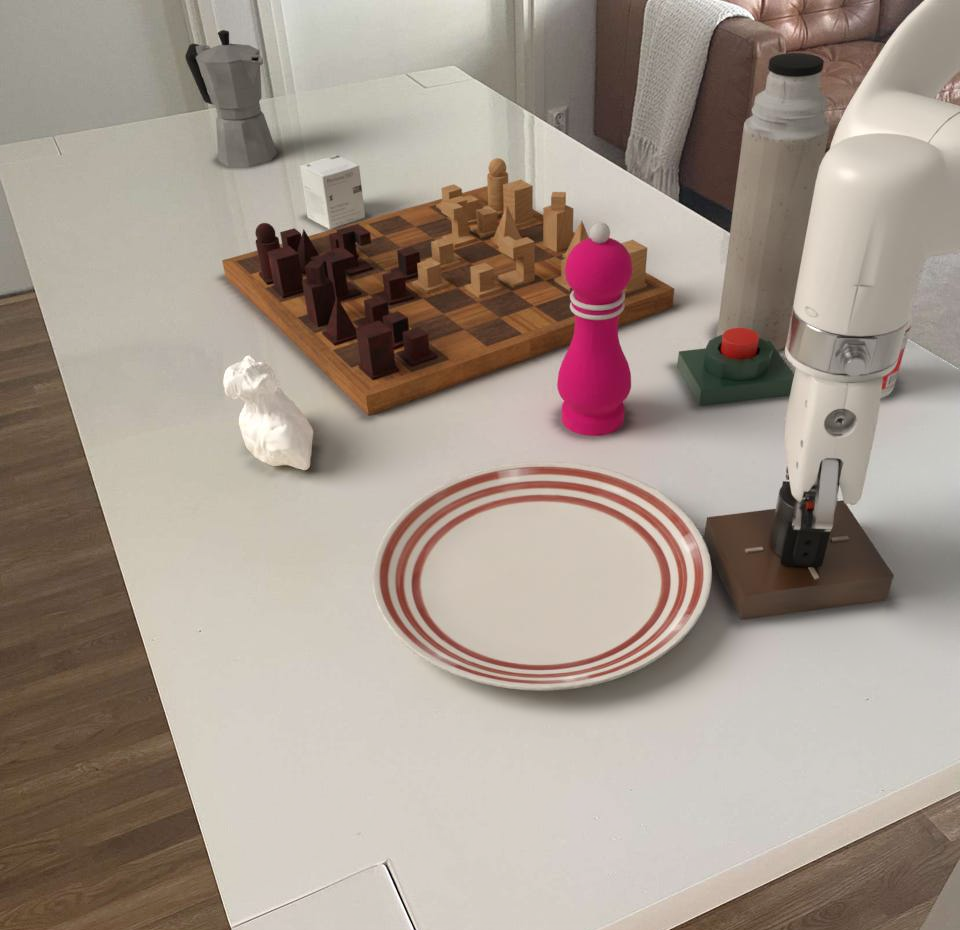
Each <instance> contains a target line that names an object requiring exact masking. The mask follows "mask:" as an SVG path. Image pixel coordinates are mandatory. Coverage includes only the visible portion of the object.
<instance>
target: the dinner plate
mask: <svg viewBox="0 0 960 930" xmlns="http://www.w3.org/2000/svg"><path fill="white" fill-rule="evenodd" d="M712 579H713V570H712V559H711V557H710V555H709V552H708V548H707V546H706V543H705V541H704V536H702V533H701V532H700V530H699V528H698V527H697V526H696V524H695V523H694V521H693V520H692V519H691V518H690V517H689V516H688V514H687V513H686V512H685V511H684V510H683V509H682V508H681V507H680V506H678V504H676V502H674V501H673V500H671V498H669V497H668V496H667V495H665V494H663V493H662V492H660V491H658V490H657V489H655V488H653V487H652V486H650V485H648V484H647V483H644V482H642V481H640V480H639V479H636V478H634V477H631V476H629V475H627V474H624V473H620V472H618V471H614V470H610V469H607V468H604V467H600V466H599V467H598V466H593V465H589V464H583V463H574V462H563V461H526V462H516V463H509V464H508V463H507V464H501V465H497V466H496V465H495V466H491V467H487V468H483V469H480V470H475V471H472V472H470V473H466V474H463V475H460V476H458V477H456V478H453V479H451V480H449V481H448V480H447V481H446V482H444V483H442V484H440V485H438V486H436V487H434V488H432V489H431V490H429V491H428V492H426V493H424V494H423V495H421V496H419V497H418V498H417V499H415V500H414V501H413V502H411V504H409V505H408V506H407V507H405V509H404V510H402V511H401V513H400V514H399V515H398V516H397V517H396V518H395V519H394V520H393V522H392V523H391V524H390V526H389V527H388V528H387V530H386V531H385V533H384V535H383V537H382V539H381V540H380V542H379V545H378V547H377V550H376V553H375V557H374V561H373V568H372V589H373V590H372V591H373V594H374V600H375V603H376V606H377V608H378V610H379V613H380V615H381V616H382V619H383V620H384V621H385V623H386V625H387V626H388V628H389V629H390V630H391V631H392V633H393V634H394V635H395V636H396V637H397V638H398V639H399V640H400V641H401V642H402V644H403V645H404V646H406V647H407V648H408V649H409V650H410V651H412V652H413V653H414V654H415V655H417V656H419V657H420V658H422V659H423V660H425V662H428V663H429V664H431V665H432V666H435V667H436V668H438V669H441V670H443V671H444V672H447V673H449V674H452V675H455V676H457V677H459V678H462V679H465V680H469V681H472V682H476V683H478V684H483V685H488V686H493V687H497V688H504V689H512V690H522V691H539V692H540V691H541V692H543V691H561V690H563V691H564V690H572V689H573V690H574V689H580V688H586V687H587V688H588V687H591V686H596V685H599V684H603V683H608V682H611V681H614V680H617V679H620V678H622V677H625V676H627V675H630V674H632V673H634V672H637V671H639V670H641V669H643V668H645V667H646V666H648V665H650V664H651V663H653V662H655V661H657V660H658V659H660V658H661V657H663V656H664V655H665V654H667V653H668V652H670V651H671V650H672V649H673V648H674V647H676V646H677V645H678V644H679V643H680V642H681V641H682V640H683V639H684V638H686V636H687V635H688V634H689V633H690V631H691V630H692V628H694V626H695V625H696V624H697V623H698V620H699V619H700V617H701V616H702V613H703V612H704V610H705V607H706V605H707V603H708V599H709V597H710V593H711V588H712V581H713V580H712Z"/></svg>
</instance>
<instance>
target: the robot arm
mask: <svg viewBox="0 0 960 930" xmlns="http://www.w3.org/2000/svg"><path fill="white" fill-rule="evenodd" d="M877 55H878V56H877V57H876V59H875V60H874V62H873V63H872V65H871V66H870V68H869V70H868V71H867V73H866V74H865V76H864V78H863V79H862V81H861V83H860V84H859V86H858V88H857V89H856V91H855V93H854V94H853V95H852V98H851V99H850V101H849V103H848V104H847V106H846V108H845V110H844V112H843V114H842V116H841V117H840V120H839V122H838V124H837V126H836V128H835V131H834V133H833V138H832V140H831V143H830V146H829V149H828V150H827V152H825V154H824V158H823V160H822V162H821V164H820V166H819V170H818V174H817V179H816V183H815V189H814V194H813V200H812V205H811V210H810V216H809V221H808V227H807V232H806V238H805V243H804V249H803V254H802V260H801V265H800V271H799V276H798V282H797V287H796V293H795V299H794V304H793V309H792V314H791V319H790V325H789V330H788V336H787V341H786V347H784V354H785V357H786V360H787V361H788V362H789V363H790V364H791V365H792V366H793V367H794V368H795V370H794V373H793V374H794V378H793V383H792V388H791V393H790V396H789V398H788V404H787V410H786V414H785V416H786V417H785V423H784V448H785V458H786V469H785V480H783V481H782V484H781V487H782V486H783V485H784V484H785V483H786V482H788V481H790V488H791V493H792V496H793V497H794V498H795V499H796V502H795V508H794V514H793V520H792V522H788V523H787V528H786V533H785V538H784V542H783V547H782V552H781V556H780V562H781V564H782V565H783V566H797V567H815V568H818V567H820V566H822V564H823V560H824V556H825V552H826V548H827V544H828V540H829V536H830V532H831V530H832V527H833V520H834V512H835V506H836V501H838V500H837V498H838V495H839V489H840V492H841V496H842V500H844V504H846V505H851V506H854V505H856V504H858V503H859V502H860V500H861V499H862V495H863V491H864V486H865V481H866V477H867V472H868V469H869V464H870V458H871V455H872V449H873V445H874V439H875V435H876V431H877V425H878V419H879V414H880V407H881V399H882V398H881V391H882V380H883V376H885V375H887V374H889V373H890V372H891V371H892V370H893V369H894V368H895V366H896V365H897V361H898V358H899V354H900V350H901V346H902V343H903V339H904V335H905V332H906V328H907V324H908V321H909V316H910V312H911V311H912V308H913V305H914V301H915V297H916V294H917V291H918V286H919V283H920V279H921V275H922V272H923V268H924V264H925V263H926V261H928V260H929V259H930V258H932V257H939V256H944V255H950V254H951V255H952V254H960V105H958V104H955V103H951V102H947V101H944V100H940V99H937V98H936V97H937V96H938V95H939V94H940V92H941V91H942V90H943V88H944V87H945V86H946V85H947V84H948V83H949V82H950V81H951V80H952V79H953V78H954V77H955V76H956V75H957V74H958V73H960V0H923V1H922V2H921V3H919V4H918V6H916V7H915V8H914V9H913V10H912V11H911V12H910V13H909V14H908V15H907V16H906V17H905V18H904V19H903V21H902V22H901V23H900V24H899V25H898V26H897V28H896V29H895V30H894V32H893V33H892V34H891V36H890V37H889V38H888V40H887V41H886V43H885V45H883V47H882V48H881V50H880V52H879V53H878V54H877ZM813 485H815V486H816V489H811V487H812V486H813ZM805 501H808V502H815V505H814V510H813V512H808V511H807V512H805V513H804V507H805ZM803 513H804V514H803Z"/></svg>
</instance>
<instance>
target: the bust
mask: <svg viewBox="0 0 960 930" xmlns="http://www.w3.org/2000/svg"><path fill="white" fill-rule="evenodd" d="M222 386H223V389H224V394H225V395H226V396H227V397H228V398H229V399H230V400H238V399H241V400H242V401H243V402H244V406H243V407H242V409H241V412H239V417H238V425H239V429H240V432H241V437H242V439H243V441H244V444H245V447H246V449H247V450H248V451H249V452H250V453H251V454H252V455H253V456H254V457H255V458H256V459H257V460H259V461H260V462H262V463H265V464H266V465H269V466H273V467H279V466H280V467H281V466H289V467H292V468H294V469H297V470H301V471H307V470H308V469H309V468H310V466H311V458H312V452H313V451H312V447H313V439H314V429H313V427H312V425H311V424H310V422H309V421H308V419H307V417H306V415H305V414H304V413H303V412H302V410H301V409H300V408H299V406H297V404H296V403H295V402H294V401H293V400H292V399H290V398H289V397H288V395H286V394H285V392H284V391H283V389H282V388H281V387H280V382H279V381H278V379H277V378H276V375H275V371H274V370H273V369H272V365H271V364H268V363H267V364H266V363H265V362H263V361H259V362H257V361H256V359H255V358H253V356H252V355H250V354H249V355H245V356H244V358H243V359H242V360H241V361H238V362H236V363H233V364H231V365H230V366H228V367H227V368H226V369H225V371H224V374H223V381H222Z"/></svg>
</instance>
